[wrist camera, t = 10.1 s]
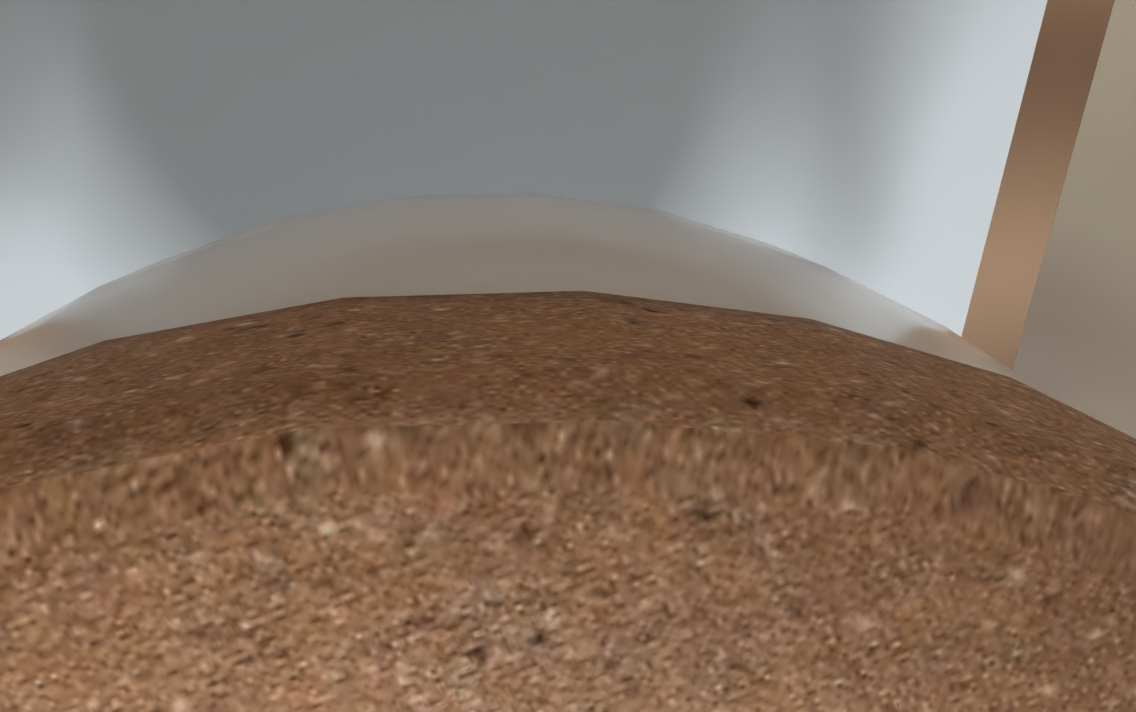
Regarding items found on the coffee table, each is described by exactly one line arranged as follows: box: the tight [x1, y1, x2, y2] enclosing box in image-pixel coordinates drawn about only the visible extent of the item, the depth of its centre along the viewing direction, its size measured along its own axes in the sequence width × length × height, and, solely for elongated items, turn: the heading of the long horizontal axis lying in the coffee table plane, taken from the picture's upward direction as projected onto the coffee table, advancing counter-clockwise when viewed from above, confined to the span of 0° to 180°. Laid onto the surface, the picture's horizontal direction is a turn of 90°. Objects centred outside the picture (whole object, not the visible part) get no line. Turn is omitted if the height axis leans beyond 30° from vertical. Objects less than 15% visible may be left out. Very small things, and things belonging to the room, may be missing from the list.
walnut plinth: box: [0, 0, 1114, 369], centre depth 17 cm, size 16×16×3 cm
